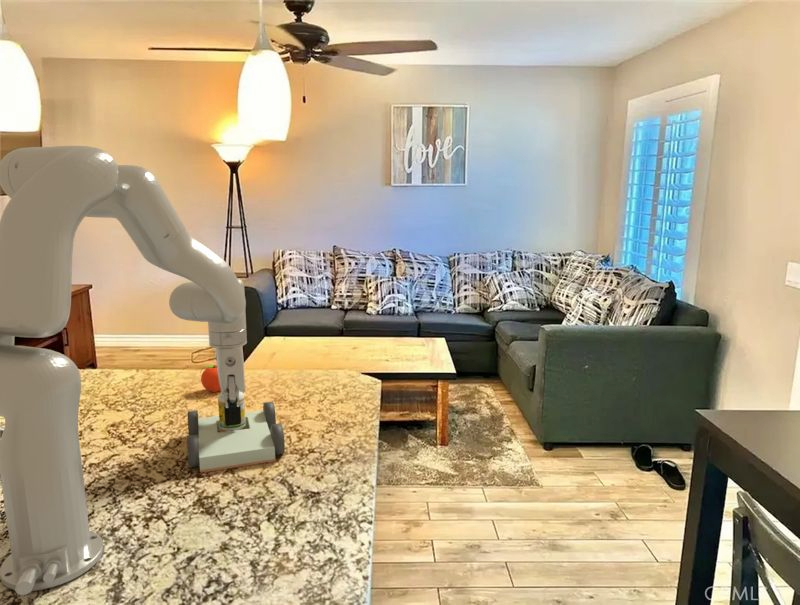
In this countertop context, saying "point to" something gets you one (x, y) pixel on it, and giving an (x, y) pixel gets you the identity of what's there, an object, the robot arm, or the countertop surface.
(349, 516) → the countertop surface
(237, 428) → the supplement bottle
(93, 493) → the countertop surface
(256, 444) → the chassis
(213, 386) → the tomato
